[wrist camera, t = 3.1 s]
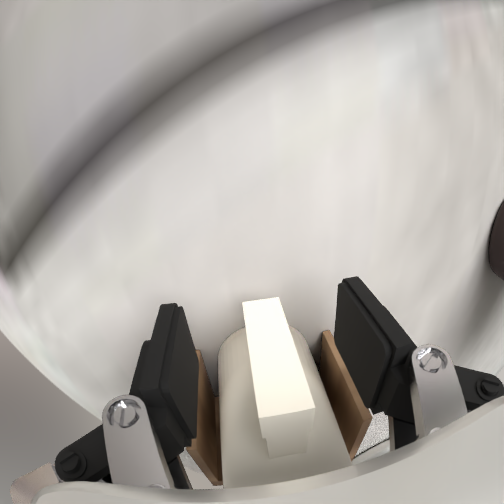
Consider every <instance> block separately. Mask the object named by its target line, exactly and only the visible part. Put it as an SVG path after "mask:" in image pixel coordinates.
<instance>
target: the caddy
mask: <svg viewBox="0 0 504 504" xmlns="http://www.w3.org/2000/svg"><path fill="white" fill-rule="evenodd" d="M196 353H197V356H198V360H199V380H198V407H197V437H196V439H192V447H186V450H187V451H188V453H189V454H190V455H191V457H192V458H193V460H194V461H195V462H196V464H197V465H198V466H199V468H200V469H201V470H202V472H203V473H204V474H205V476H206V477H207V478H208V479H209V480H210V482H211V483H212V484H213V485H214V486H217V485H223V475H222V458H221V438H220V414H219V397H215V396H214V393H213V390H212V387H211V384H210V381H209V378H208V374H207V371H206V368H205V365H204V362H203V359H202V355H201V352H200V350H196ZM319 375H320V378H321V381H322V383H323V386H324V388H325V391H326V394H327V396H328V399H329V402H330V404H331V407H332V410H333V412H334V415H335V418H336V421H337V423H338V426H339V429H340V431H341V434H342V437H343V440H344V442H345V445H346V448H347V451H348V453H349V456H350V459H351V462H352V460H353V458H354V456H355V454H356V452H357V450H358V448H359V446H360V444H361V442H362V440H363V438H364V436H365V434H366V432H367V429H368V427H369V425H370V423H371V420H372V416H371V414H370V411H369V409H367V408H366V407H365V406H364V404H363V401H362V399H361V397H360V395H359V393H358V391H357V389H356V387H355V385H354V382H353V380H352V378H351V376H350V374H349V372H348V370H347V368H346V366H345V364H344V362H343V360H342V358H341V356H340V354H339V352H338V350H337V348H336V345H335V342H334V338H333V336H332V334H331V332H330V330H328V331H323V334H322V349H321V361H320V372H319Z"/></svg>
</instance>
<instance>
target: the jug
mask: <svg viewBox="0 0 504 504" xmlns="http://www.w3.org/2000/svg"><path fill="white" fill-rule="evenodd" d="M242 304H243V312H244V319H245V327H244V328H241V329H239V330H237V331H236V332H234V333H233V334H231V335H230V336H229V337H228V338H227V339H226V340H225V341H224V342H223V344H222V345H221V347H220V350H219V353H218V382H219V414H220V438H221V458H222V475H223V489H228V488H241V487H251V486H260V485H267V484H274V483H280V482H286V481H292V480H297V479H302V478H307V477H311V476H316V475H320V474H324V473H328V472H331V471H335V470H339V469H342V468H346V467H349V466H352V462H351V459H350V456H349V453H348V451H347V448H346V445H345V442H344V440H343V437H342V434H341V431H340V429H339V426H338V423H337V421H336V418H335V415H334V412H333V410H332V407H331V404H330V402H329V399H328V396H327V394H326V391H325V388H324V386H323V383H322V381H321V378H320V375H319V373H318V370H317V367H316V365H315V362H314V360H313V357H312V354H311V352H310V349H309V347H308V344H307V341H306V339H305V337H304V336H303V335H302V334H301V333H300V332H299V331H298V330H296V329H295V328H293V327H291V326H289V325H288V323H287V320H286V318H285V315H284V312H283V309H282V306H281V303H280V300H279V297H275V298H268V299H261V300H255V301H247V302H242Z"/></svg>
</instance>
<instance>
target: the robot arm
mask: <svg viewBox="0 0 504 504" xmlns="http://www.w3.org/2000/svg"><path fill="white" fill-rule="evenodd" d="M334 342H335V345H336V348H337V350H338V352H339V354H340V356H341V358H342V360H343V362H344V364H345V366H346V368H347V370H348V372H349V374H350V376H351V378H352V380H353V382H354V385H355V387H356V389H357V391H358V393H359V395H360V397H361V399H362V401H363V404H364V406H365V407H366V408H367V409H368V408H370V409H371V411H372V413H373V415H374V414H377V413H380V412H382V411H384V413H385V415H388V421H389V440H387V441H385V442H383V443H381V444H379V445H377V446H375V447H373V448H371V449H369V450H368V451H366V452H364V453H363V454H361V455H359V456H358V457H356V458H355V459H353V460H352V466H349V467H346V468H342V469H339V470H335V471H331V472H328V473H324V474H320V475H316V476H311V477H307V478H302V479H297V480H292V481H286V482H280V483H274V484H267V485H260V486H251V487H241V488H228V489H205V490H204V489H203V490H201V489H200V490H193V488H192V486H191V483H190V481H189V479H188V476H187V474H186V471H185V469H184V467H183V464H182V461H181V459H180V456H179V454H180V453H182V452H183V451H184V447H192V439H196V437H197V407H198V380H199V360H198V356H197V353H196V350H195V347H194V344H193V340H192V337H191V334H190V330H189V327H188V324H187V320H186V317H185V313H184V310H183V307H182V306H180V307H178V305H177V304H176V303H171V304H162V305H161V306H160V309H159V312H158V316H157V319H156V323H155V326H154V330H153V333H152V337H151V340H147V341H144V343H143V345H142V349H141V352H140V356H139V359H138V363H137V366H136V370H135V374H134V377H133V381H132V385H131V389H130V393H129V395H122V396H118V397H116V398H114V399H112V400H111V401H110V402H109V403H108V404H107V405H106V406H105V408H104V410H103V414H102V421H103V424H102V425H100V426H99V427H97V428H96V429H94V430H92V431H91V432H90V433H88V434H86V435H85V436H83V437H82V438H80V439H78V440H77V441H75V442H74V443H72V444H71V445H69V446H68V447H66V448H64V449H63V450H62V451H61V452H59V454H58V455H57V457H56V460H55V464H51V463H48V464H46V465H44V466H42V467H40V468H38V469H36V470H34V471H32V472H30V473H28V474H26V475H24V476H22V477H20V478H18V479H16V480H15V481H14V482H13V483H12V485H11V489H10V493H11V498H12V500H13V503H14V504H504V384H502V382H501V381H500V380H499V379H498V378H497V377H496V376H494V375H491V374H488V373H484V372H479V371H475V370H471V369H467V368H463V367H459V366H455V365H453V362H452V359H451V357H450V355H449V353H448V352H447V351H446V350H445V349H443V348H441V347H440V346H436V345H431V344H427V345H422V346H420V347H418V348H417V346H416V345H415V344H414V342H413V341H412V340H411V339H410V337H409V336H408V335H407V334H406V332H405V331H404V330H403V328H402V327H401V326H400V325H399V323H398V322H397V321H396V320H395V318H394V317H393V316H392V315H391V314H390V312H389V311H388V310H387V309H386V308H385V307H384V306H383V305H382V304H381V303H380V302H379V301H378V299H377V298H376V297H375V296H374V295H373V293H372V292H371V291H370V290H369V289H368V288H367V286H366V285H365V284H364V283H363V282H362V280H361V279H360V278H359V277H351V278H345V279H343V281H342V283H339V285H338V293H337V308H336V320H335V331H334Z"/></svg>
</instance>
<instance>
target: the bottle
mask: <svg viewBox="0 0 504 504" xmlns="http://www.w3.org/2000/svg"><path fill="white" fill-rule="evenodd" d="M489 260H490V264H491V268H492V270H493V272H494V273H495V274H497V275H498V276H499V277H500V278H502V279H503V280H504V202H503V204H502V206H501V207H500V209H499V212H498V214H497V217H496V219H495V222H494V226H493V229H492V233H491V238H490V246H489Z"/></svg>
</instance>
